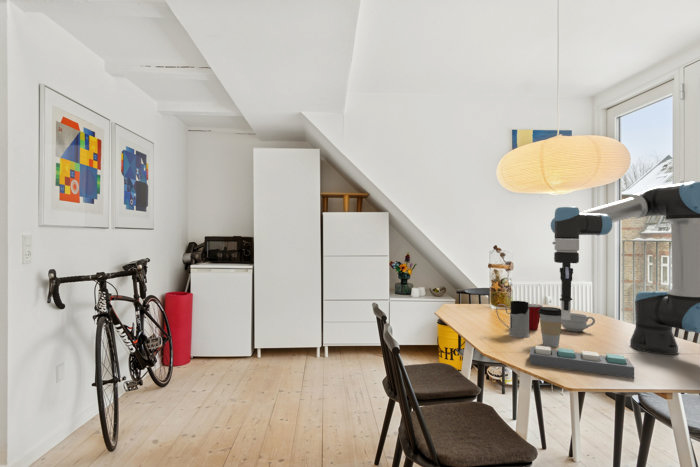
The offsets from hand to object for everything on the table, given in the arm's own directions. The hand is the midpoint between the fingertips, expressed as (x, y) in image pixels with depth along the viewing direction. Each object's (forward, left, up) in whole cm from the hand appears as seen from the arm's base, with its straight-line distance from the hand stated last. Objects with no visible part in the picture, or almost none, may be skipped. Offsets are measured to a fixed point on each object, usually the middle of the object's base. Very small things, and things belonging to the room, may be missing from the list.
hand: (565, 319), depth 137 cm
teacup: (-8, -59, -16) cm, 62 cm away
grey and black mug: (+19, -37, -16) cm, 45 cm away
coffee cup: (+4, -26, -16) cm, 31 cm away
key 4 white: (+7, 0, -13) cm, 15 cm away
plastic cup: (+12, -54, -16) cm, 58 cm away
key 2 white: (-7, 0, -13) cm, 15 cm away
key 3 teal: (0, 0, -13) cm, 13 cm away
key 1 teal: (-15, 0, -13) cm, 20 cm away
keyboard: (-4, 0, -16) cm, 16 cm away
